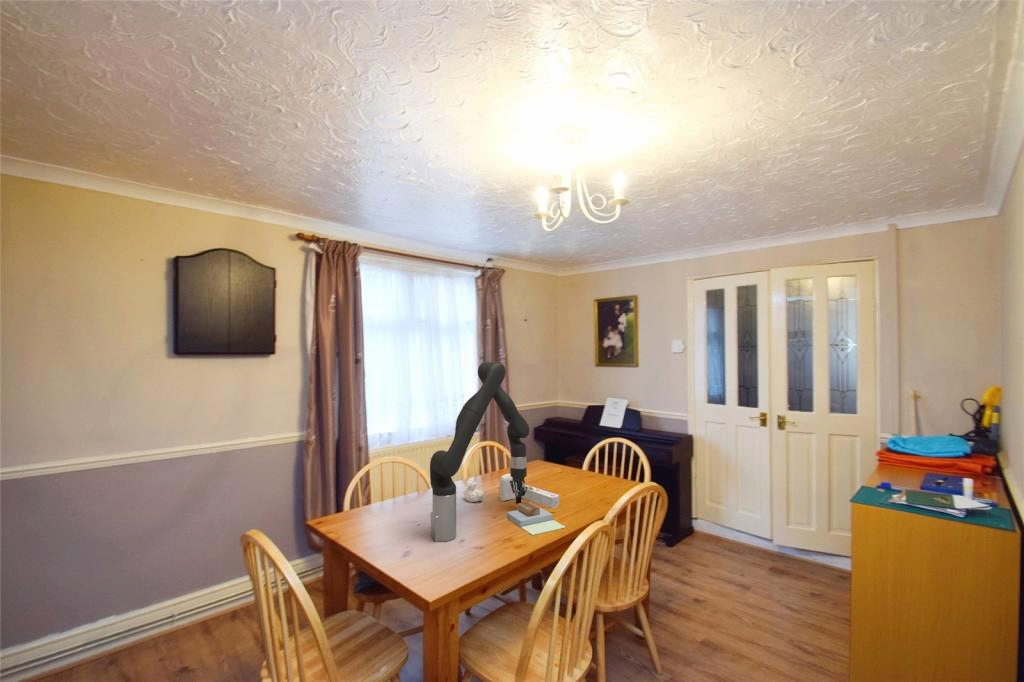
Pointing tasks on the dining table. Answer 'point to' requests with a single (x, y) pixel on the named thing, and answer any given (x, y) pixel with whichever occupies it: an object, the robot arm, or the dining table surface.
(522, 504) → the block
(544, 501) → the box
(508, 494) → the photo printer
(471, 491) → the bust
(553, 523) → the mat
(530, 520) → the pale blue flat slab
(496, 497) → the dining table surface
